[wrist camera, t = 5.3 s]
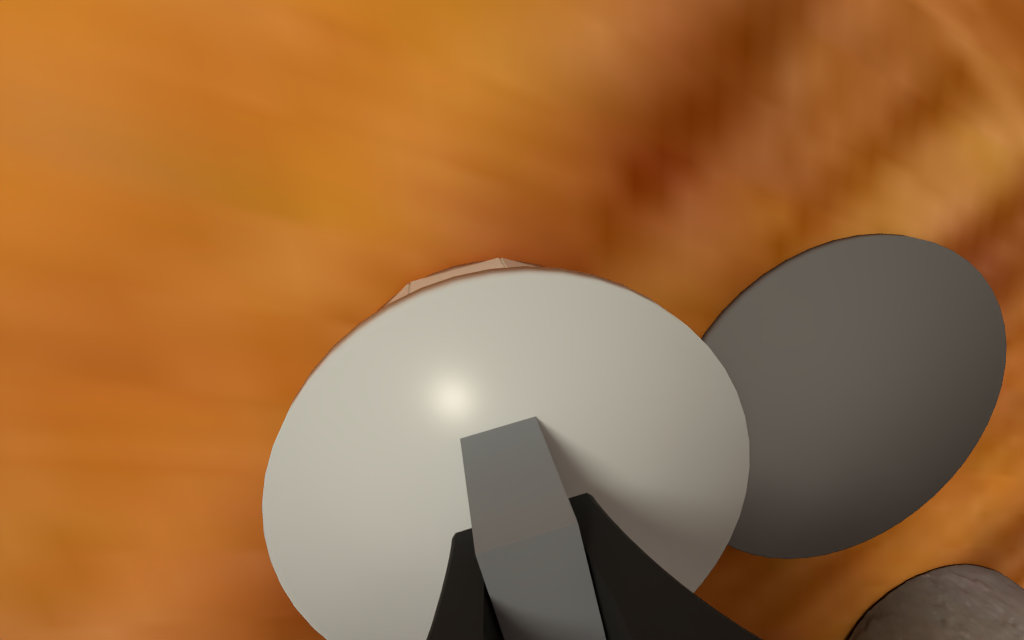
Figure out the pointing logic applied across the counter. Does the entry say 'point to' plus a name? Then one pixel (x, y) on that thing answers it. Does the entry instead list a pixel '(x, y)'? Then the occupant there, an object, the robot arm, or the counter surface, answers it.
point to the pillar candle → (948, 608)
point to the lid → (500, 454)
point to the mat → (857, 387)
